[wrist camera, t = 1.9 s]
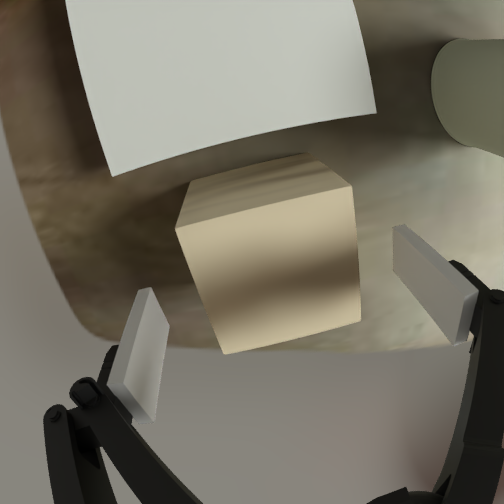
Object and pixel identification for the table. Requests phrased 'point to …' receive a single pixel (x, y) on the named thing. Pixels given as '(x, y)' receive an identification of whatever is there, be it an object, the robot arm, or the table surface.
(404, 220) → the table surface
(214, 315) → the maple cube
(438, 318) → the robot arm
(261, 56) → the white square slab
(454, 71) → the can
